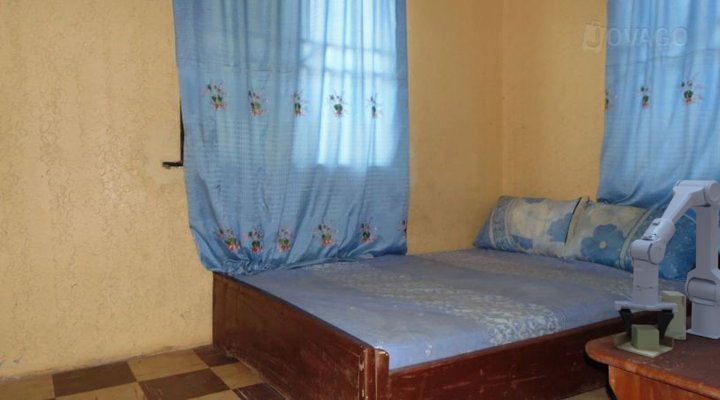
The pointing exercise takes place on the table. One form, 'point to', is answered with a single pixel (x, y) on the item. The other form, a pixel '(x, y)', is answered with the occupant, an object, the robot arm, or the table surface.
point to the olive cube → (645, 337)
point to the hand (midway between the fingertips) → (644, 337)
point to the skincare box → (676, 314)
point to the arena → (625, 344)
